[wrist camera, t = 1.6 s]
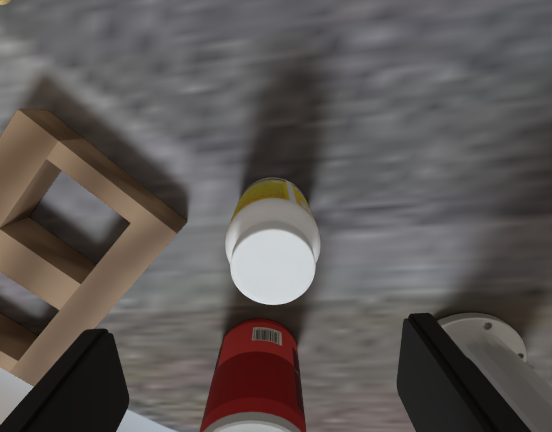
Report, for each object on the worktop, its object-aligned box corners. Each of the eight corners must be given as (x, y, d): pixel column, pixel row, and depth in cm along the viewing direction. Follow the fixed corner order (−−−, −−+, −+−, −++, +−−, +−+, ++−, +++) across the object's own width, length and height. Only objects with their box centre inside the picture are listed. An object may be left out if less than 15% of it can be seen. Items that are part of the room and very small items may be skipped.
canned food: (207, 334, 30) (172, 446, 20) (276, 303, 29) (277, 404, 19) (243, 386, 32) (229, 511, 22) (309, 358, 31) (326, 476, 21)
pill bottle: (227, 226, 27) (197, 292, 16) (255, 164, 25) (242, 194, 15) (288, 252, 28) (298, 332, 17) (319, 194, 26) (350, 243, 15)
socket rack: (187, 221, 27) (175, 235, 24) (61, 365, 31) (37, 392, 28) (48, 110, 24) (14, 108, 21) (-68, 288, 29) (-110, 308, 25)
